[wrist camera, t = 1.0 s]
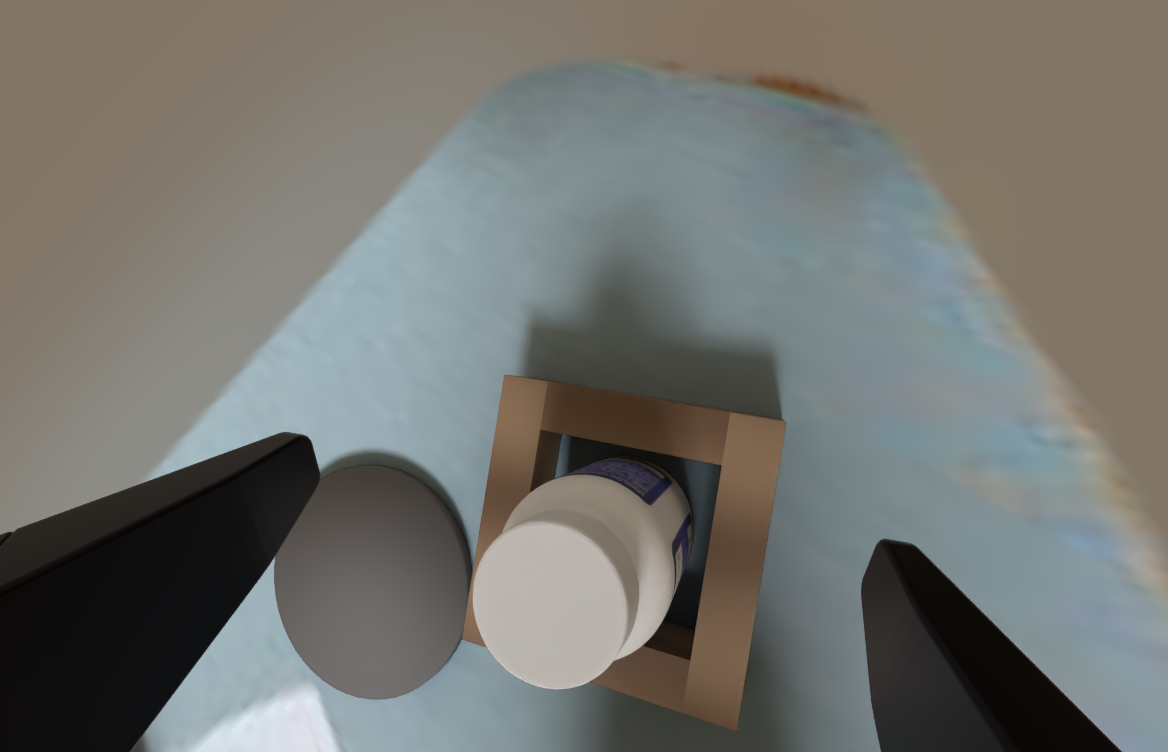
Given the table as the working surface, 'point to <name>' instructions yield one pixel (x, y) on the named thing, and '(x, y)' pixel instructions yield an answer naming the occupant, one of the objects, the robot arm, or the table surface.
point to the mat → (374, 582)
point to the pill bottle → (583, 571)
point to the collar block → (737, 543)
